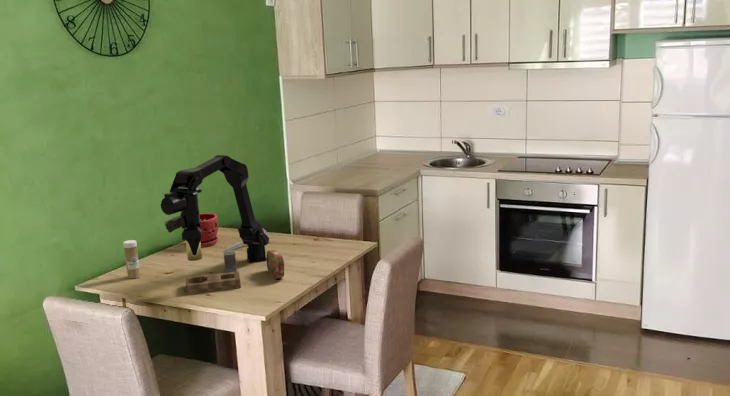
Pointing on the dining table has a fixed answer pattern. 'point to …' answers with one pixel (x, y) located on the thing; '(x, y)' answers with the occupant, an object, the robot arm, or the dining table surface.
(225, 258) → the square bit
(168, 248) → the dining table surface
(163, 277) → the dining table surface
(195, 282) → the bore block
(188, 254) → the round bit
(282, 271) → the tin
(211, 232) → the plant pot
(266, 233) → the caliper
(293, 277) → the dining table surface
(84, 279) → the dining table surface
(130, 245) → the sprinkles bottle
